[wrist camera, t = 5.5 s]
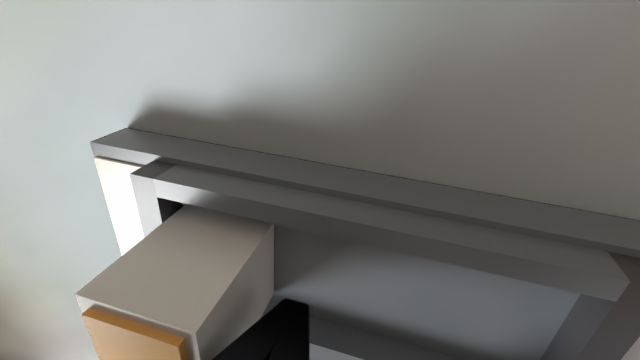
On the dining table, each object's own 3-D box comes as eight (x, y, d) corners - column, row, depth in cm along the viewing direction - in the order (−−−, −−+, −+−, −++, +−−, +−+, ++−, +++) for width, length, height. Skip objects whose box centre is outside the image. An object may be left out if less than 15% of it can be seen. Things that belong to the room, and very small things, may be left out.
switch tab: (274, 222, 10) (189, 341, 6) (273, 292, 11) (204, 423, 8) (187, 202, 11) (66, 301, 7) (197, 272, 12) (101, 383, 8)
